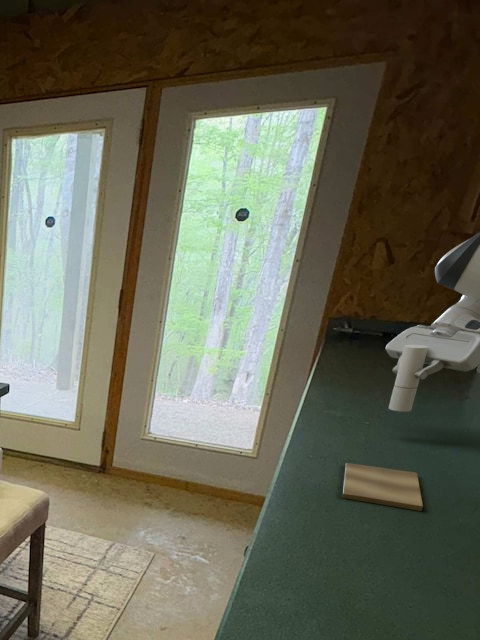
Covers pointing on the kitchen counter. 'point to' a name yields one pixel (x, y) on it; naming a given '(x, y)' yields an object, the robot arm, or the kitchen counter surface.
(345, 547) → the kitchen counter surface
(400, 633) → the kitchen counter surface
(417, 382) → the tube
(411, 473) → the birch board
